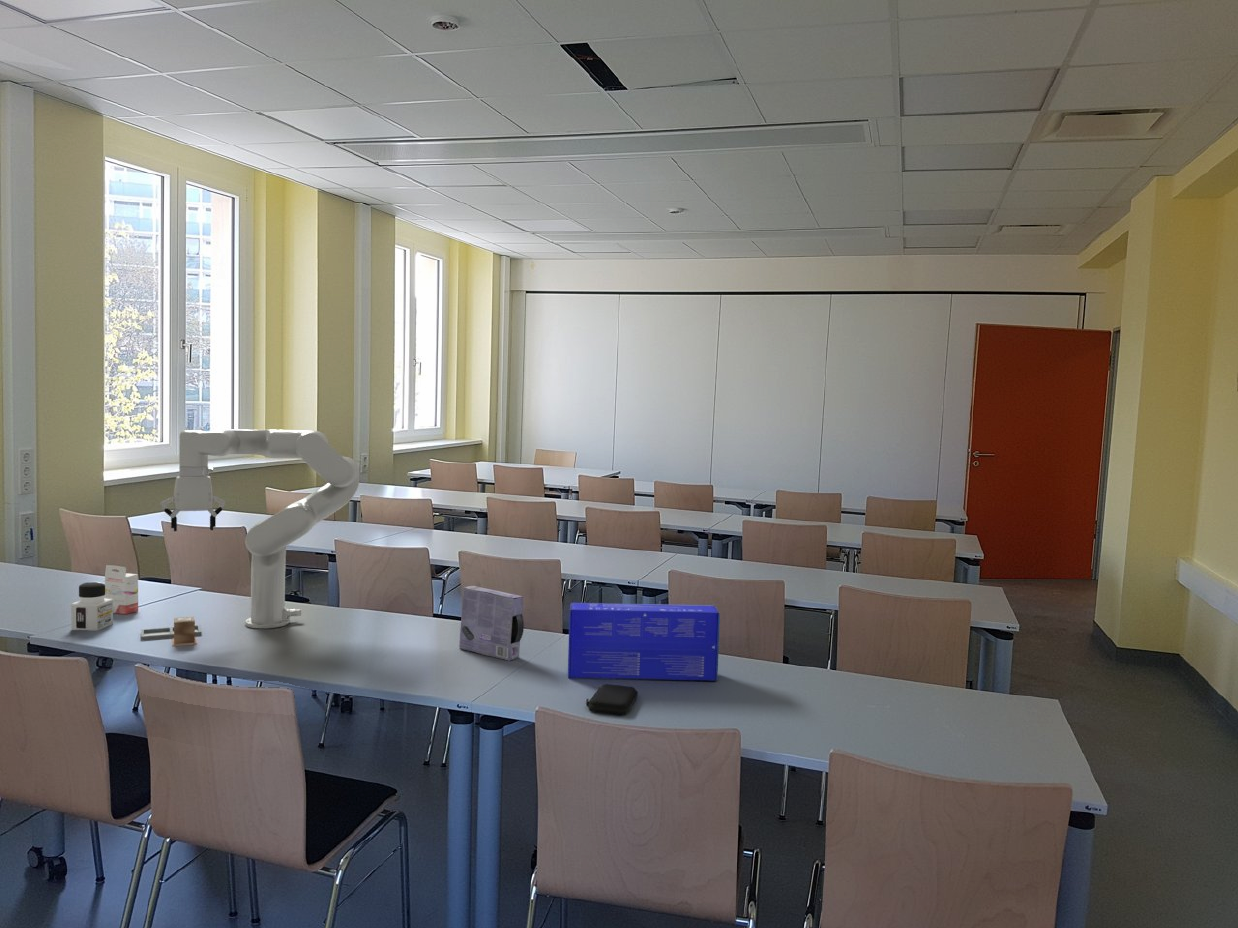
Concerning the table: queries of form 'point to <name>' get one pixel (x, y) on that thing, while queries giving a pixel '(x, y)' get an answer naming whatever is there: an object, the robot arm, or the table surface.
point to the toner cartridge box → (643, 641)
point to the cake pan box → (491, 622)
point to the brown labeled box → (184, 630)
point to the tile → (183, 643)
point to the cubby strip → (163, 633)
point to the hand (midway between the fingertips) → (193, 530)
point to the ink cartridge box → (121, 589)
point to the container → (91, 608)
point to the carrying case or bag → (612, 699)
